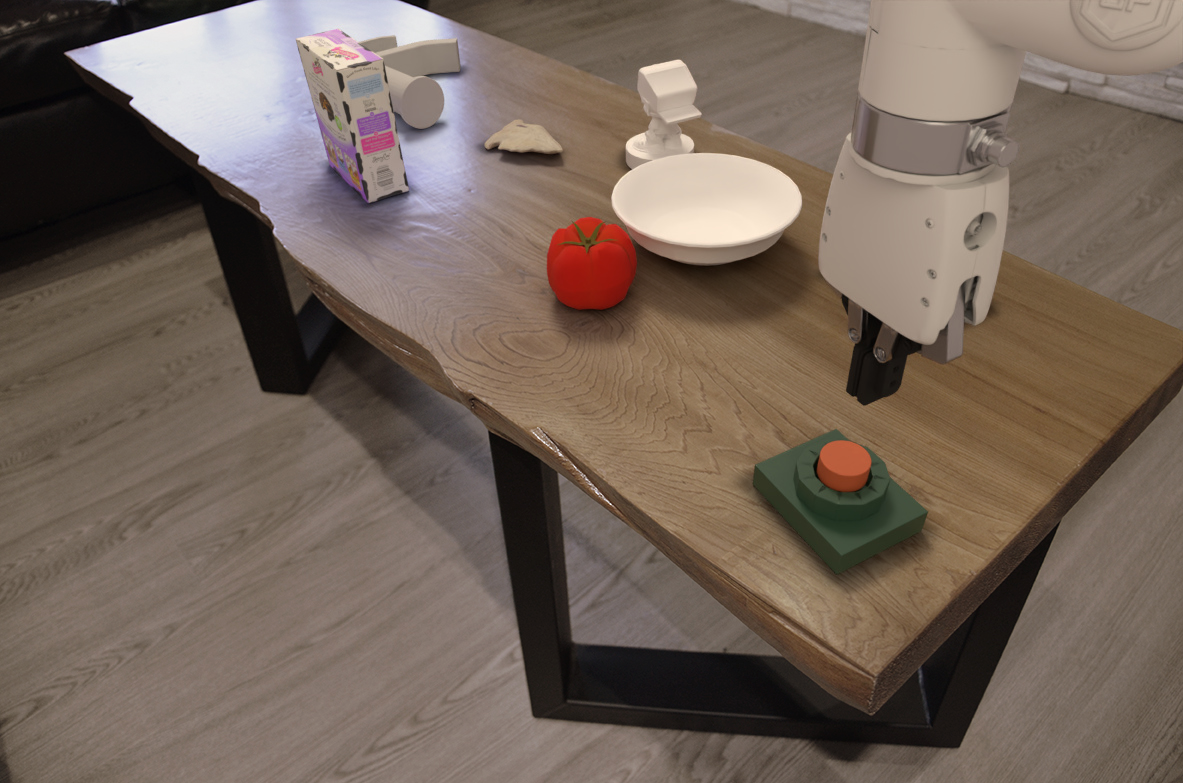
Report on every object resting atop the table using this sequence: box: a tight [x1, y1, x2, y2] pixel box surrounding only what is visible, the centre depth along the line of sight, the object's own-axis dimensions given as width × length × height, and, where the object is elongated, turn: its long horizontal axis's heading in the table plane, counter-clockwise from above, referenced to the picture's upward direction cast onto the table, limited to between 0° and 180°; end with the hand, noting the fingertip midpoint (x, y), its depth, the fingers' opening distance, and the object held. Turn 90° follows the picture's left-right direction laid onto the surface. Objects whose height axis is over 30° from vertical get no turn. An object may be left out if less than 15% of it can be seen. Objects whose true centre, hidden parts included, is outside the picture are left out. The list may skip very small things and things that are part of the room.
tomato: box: [546, 216, 638, 311], centre depth 84 cm, size 9×9×8 cm
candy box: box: [295, 28, 410, 204], centre depth 103 cm, size 14×6×16 cm, turn 34°
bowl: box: [610, 152, 803, 266], centre depth 91 cm, size 20×20×6 cm
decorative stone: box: [484, 119, 564, 155], centre depth 111 cm, size 8×12×3 cm
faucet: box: [358, 34, 462, 130], centre depth 127 cm, size 20×7×25 cm
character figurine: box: [625, 59, 703, 170], centre depth 104 cm, size 9×10×12 cm
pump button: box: [817, 440, 871, 492], centre depth 61 cm, size 4×4×2 cm
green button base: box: [751, 428, 929, 575], centre depth 63 cm, size 10×8×4 cm
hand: (872, 391), depth 56 cm, fingers closed
